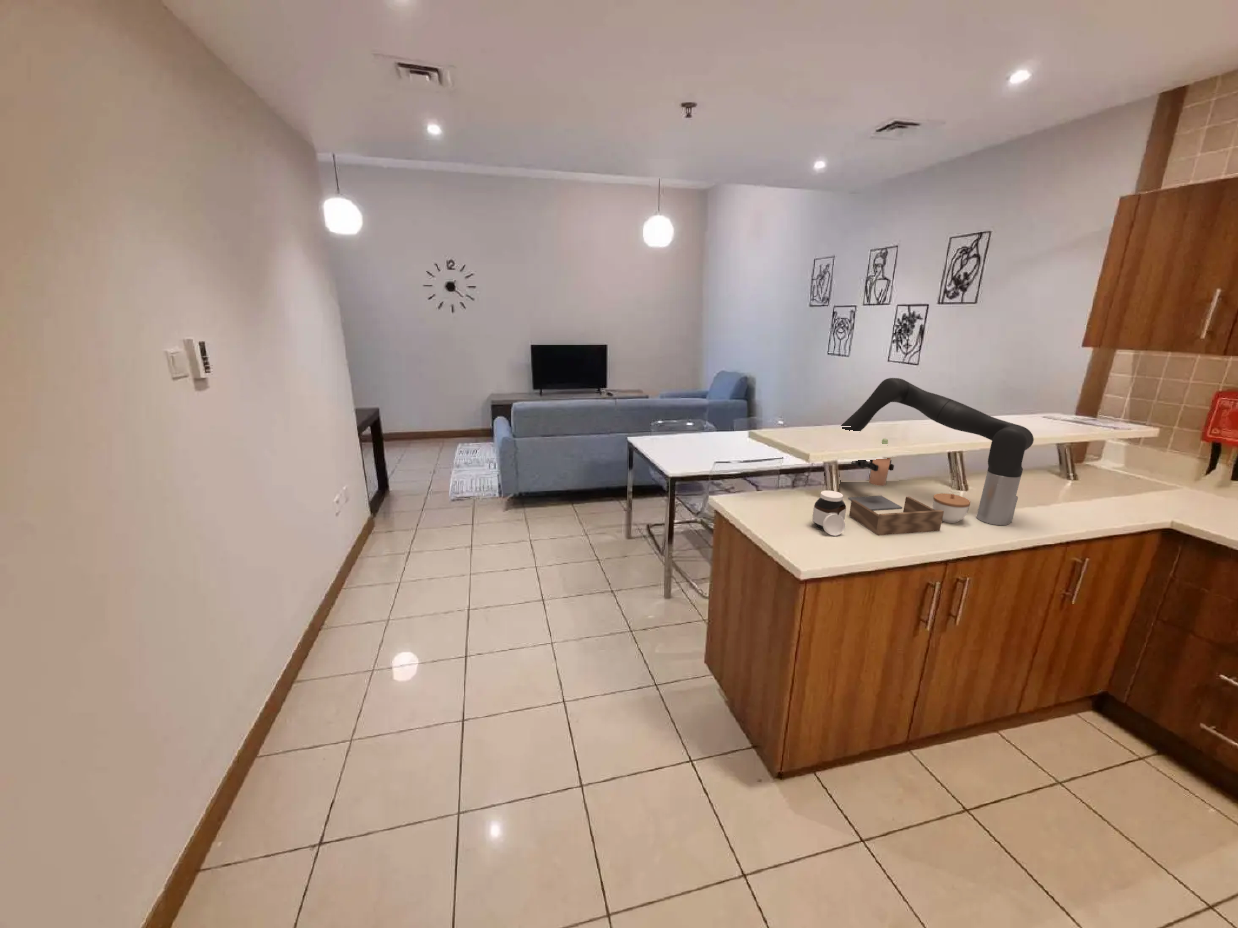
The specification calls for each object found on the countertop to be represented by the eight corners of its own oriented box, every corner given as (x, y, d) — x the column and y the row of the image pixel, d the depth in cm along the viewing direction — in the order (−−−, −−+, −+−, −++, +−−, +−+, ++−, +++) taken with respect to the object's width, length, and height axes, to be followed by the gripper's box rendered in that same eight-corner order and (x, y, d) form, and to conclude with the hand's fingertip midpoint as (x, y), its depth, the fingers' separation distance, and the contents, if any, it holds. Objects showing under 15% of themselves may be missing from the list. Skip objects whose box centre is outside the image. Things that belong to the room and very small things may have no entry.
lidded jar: (932, 510, 181) (937, 486, 178) (967, 518, 175) (973, 493, 172) (926, 520, 173) (932, 495, 170) (963, 528, 167) (969, 502, 164)
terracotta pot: (879, 479, 189) (887, 435, 183) (890, 485, 183) (899, 440, 177) (864, 480, 188) (871, 436, 182) (875, 486, 182) (883, 441, 176)
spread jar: (828, 519, 174) (832, 487, 170) (856, 531, 164) (861, 498, 161) (803, 526, 168) (807, 493, 165) (831, 539, 159) (836, 505, 155)
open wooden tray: (905, 512, 180) (909, 493, 178) (939, 530, 165) (944, 511, 163) (849, 515, 177) (851, 497, 175) (878, 535, 162) (881, 515, 159)
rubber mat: (880, 496, 194) (881, 495, 194) (902, 508, 183) (902, 507, 183) (847, 498, 192) (848, 497, 192) (867, 510, 181) (867, 509, 181)
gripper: (841, 446, 194) (868, 459, 178) (875, 444, 196) (904, 457, 181) (838, 464, 197) (865, 479, 181) (872, 462, 199) (901, 477, 183)
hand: (884, 468), depth 181 cm, fingers closed on terracotta pot, 5 cm apart
